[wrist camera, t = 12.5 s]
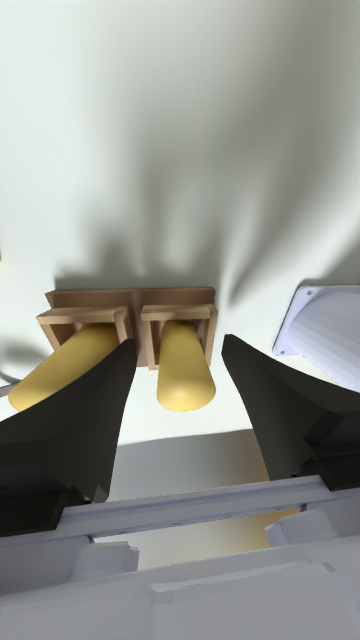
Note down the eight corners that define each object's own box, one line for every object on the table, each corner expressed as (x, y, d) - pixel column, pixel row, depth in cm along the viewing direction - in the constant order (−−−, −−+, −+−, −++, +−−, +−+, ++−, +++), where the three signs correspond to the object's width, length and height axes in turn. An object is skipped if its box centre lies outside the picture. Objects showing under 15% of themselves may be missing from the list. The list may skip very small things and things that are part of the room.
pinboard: (211, 287, 12) (222, 295, 9) (204, 356, 15) (210, 374, 13) (54, 290, 11) (24, 300, 9) (86, 363, 14) (71, 384, 12)
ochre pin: (196, 317, 12) (219, 371, 7) (195, 346, 13) (212, 408, 8) (160, 319, 12) (153, 376, 6) (162, 348, 13) (159, 414, 8)
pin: (115, 320, 11) (69, 380, 6) (122, 349, 13) (90, 419, 8) (76, 321, 11) (-8, 385, 6) (87, 351, 13) (29, 424, 7)
